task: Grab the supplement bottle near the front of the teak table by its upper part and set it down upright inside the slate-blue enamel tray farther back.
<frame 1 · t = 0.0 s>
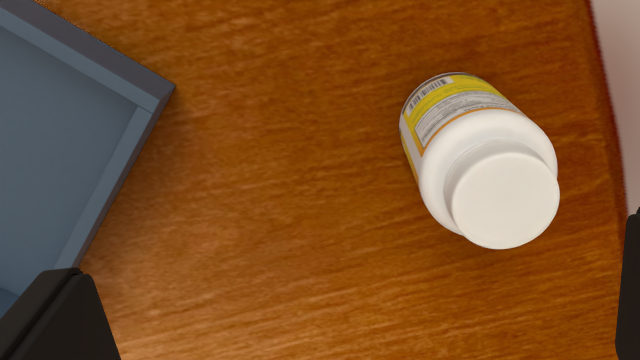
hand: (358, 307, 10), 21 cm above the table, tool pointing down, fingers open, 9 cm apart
supplement bottle: (449, 119, 30), on the table
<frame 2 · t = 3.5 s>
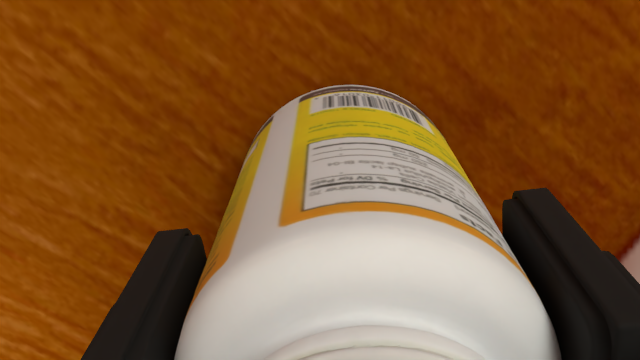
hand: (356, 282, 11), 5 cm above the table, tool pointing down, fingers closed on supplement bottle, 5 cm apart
supplement bottle: (348, 176, 15), on the table, touching gripper
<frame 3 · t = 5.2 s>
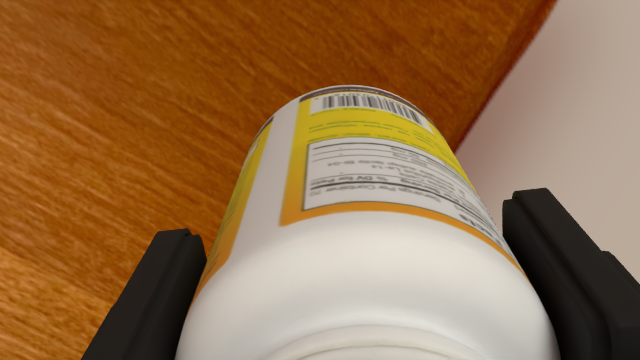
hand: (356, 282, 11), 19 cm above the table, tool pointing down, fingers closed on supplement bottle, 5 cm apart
supplement bottle: (348, 176, 15), point 14 cm above the table, touching gripper
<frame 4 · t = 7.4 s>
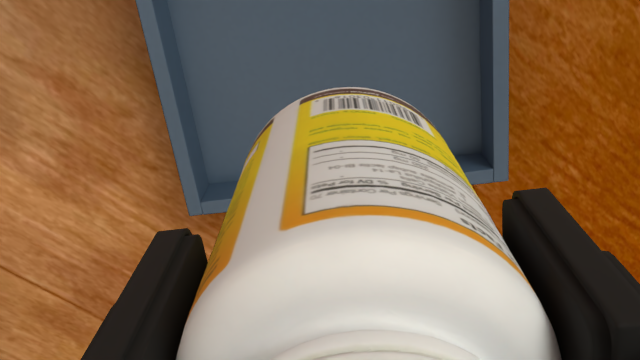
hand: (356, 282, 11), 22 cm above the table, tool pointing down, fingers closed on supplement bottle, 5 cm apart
tray: (328, 46, 30), on the table
supplement bottle: (348, 178, 15), point 17 cm above the table, touching gripper
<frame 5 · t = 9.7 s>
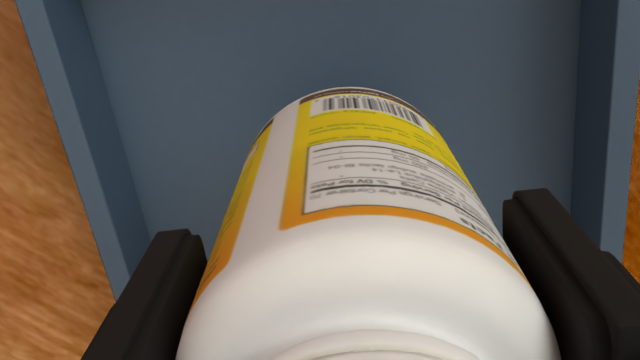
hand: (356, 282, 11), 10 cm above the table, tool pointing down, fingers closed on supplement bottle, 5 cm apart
tray: (343, 119, 20), on the table
supplement bottle: (348, 178, 15), point 5 cm above the table, touching gripper
when the fingers open (5 cm above the table, at t = 11.4 s): supplement bottle stays where it is, resting on tray.
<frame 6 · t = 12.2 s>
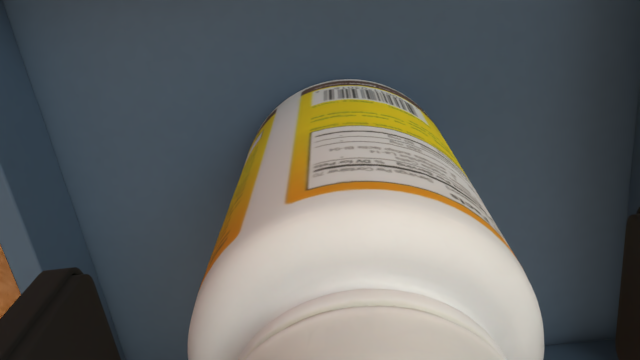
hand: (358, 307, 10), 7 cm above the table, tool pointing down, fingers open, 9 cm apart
tray: (343, 162, 16), on the table
supplement bottle: (347, 167, 16), resting on tray
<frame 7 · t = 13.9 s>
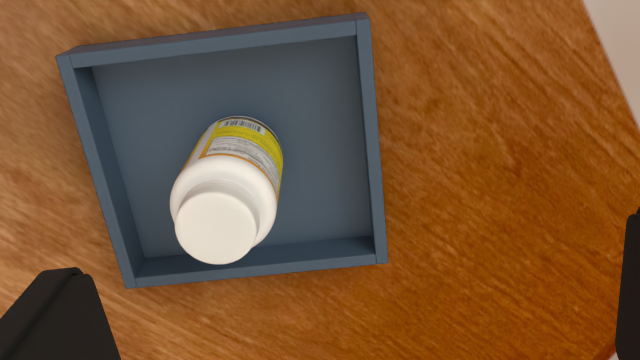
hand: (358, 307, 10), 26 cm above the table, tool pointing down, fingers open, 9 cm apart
tray: (241, 150, 37), on the table
supplement bottle: (242, 152, 36), resting on tray
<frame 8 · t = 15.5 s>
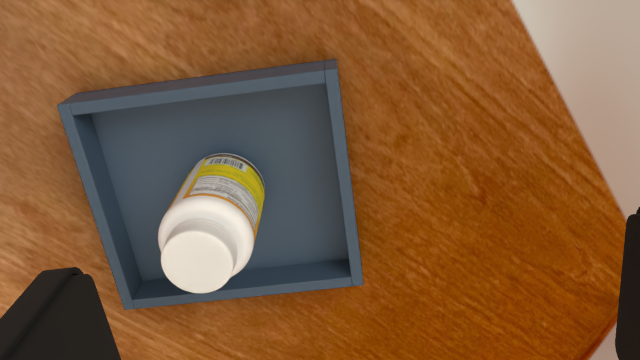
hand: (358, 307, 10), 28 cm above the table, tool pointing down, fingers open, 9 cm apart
tray: (227, 183, 40), on the table
supplement bottle: (228, 185, 40), resting on tray
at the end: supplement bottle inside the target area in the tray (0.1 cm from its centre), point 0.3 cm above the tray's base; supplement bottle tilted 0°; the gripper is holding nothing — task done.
